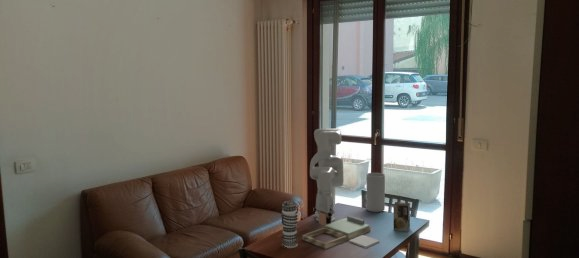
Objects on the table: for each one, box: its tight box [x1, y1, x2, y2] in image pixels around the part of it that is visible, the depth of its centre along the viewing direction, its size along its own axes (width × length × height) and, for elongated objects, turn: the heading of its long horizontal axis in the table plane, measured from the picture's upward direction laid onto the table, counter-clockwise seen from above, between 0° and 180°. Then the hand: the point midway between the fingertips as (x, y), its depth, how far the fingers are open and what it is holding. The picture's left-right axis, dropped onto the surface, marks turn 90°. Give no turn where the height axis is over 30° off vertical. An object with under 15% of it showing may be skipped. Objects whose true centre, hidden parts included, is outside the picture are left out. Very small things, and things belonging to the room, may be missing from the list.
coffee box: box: [392, 201, 411, 233], centre depth 255 cm, size 9×6×16 cm
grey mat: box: [348, 234, 380, 249], centre depth 237 cm, size 12×12×1 cm
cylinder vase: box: [365, 172, 386, 213], centre depth 294 cm, size 12×12×25 cm
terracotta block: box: [318, 211, 332, 227], centre depth 241 cm, size 5×5×7 cm
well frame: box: [301, 226, 371, 250], centre depth 249 cm, size 19×39×2 cm, turn 131°
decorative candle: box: [280, 200, 299, 249], centre depth 234 cm, size 9×9×25 cm
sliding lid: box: [324, 215, 371, 235], centre depth 254 cm, size 19×19×4 cm
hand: (325, 221), depth 242 cm, fingers closed on terracotta block, 5 cm apart
